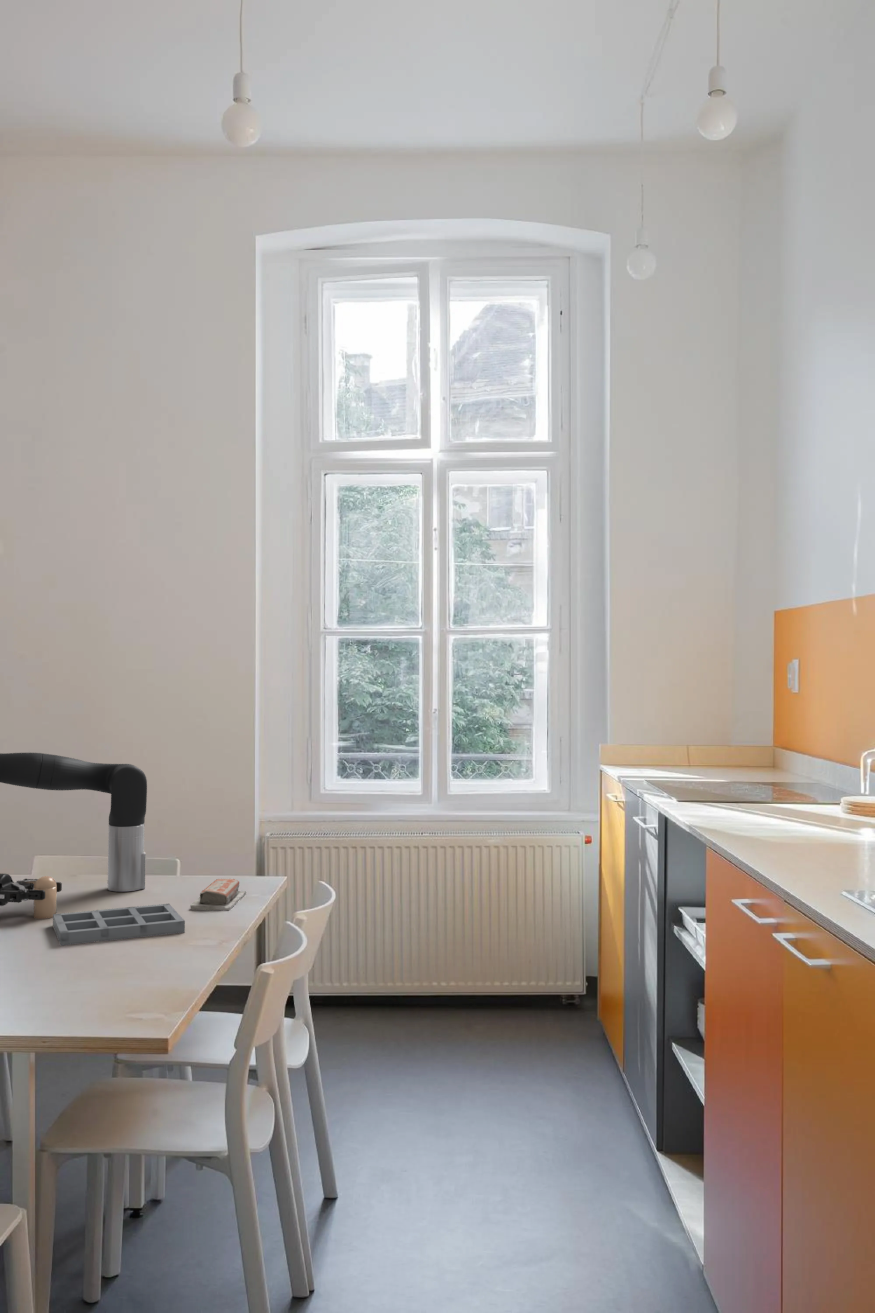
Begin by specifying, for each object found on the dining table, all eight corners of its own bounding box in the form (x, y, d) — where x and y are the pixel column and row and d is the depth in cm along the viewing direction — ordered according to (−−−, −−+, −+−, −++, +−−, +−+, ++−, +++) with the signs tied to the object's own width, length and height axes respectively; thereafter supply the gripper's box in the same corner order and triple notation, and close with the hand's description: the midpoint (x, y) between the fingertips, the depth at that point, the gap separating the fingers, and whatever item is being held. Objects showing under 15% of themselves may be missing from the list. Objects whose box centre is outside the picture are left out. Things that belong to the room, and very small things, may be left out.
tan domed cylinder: (55, 912, 237) (55, 873, 237) (57, 917, 233) (57, 877, 233) (32, 915, 235) (33, 875, 235) (34, 919, 230) (35, 879, 230)
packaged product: (209, 877, 259) (246, 877, 259) (208, 895, 259) (246, 896, 259) (189, 892, 241) (230, 893, 241) (189, 911, 241) (229, 912, 241)
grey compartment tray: (168, 914, 237) (169, 903, 237) (184, 932, 221) (184, 920, 221) (52, 925, 225) (53, 914, 225) (60, 945, 209) (60, 933, 209)
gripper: (-29, 879, 228) (39, 881, 227) (2, 867, 242) (66, 869, 241) (-30, 912, 228) (38, 914, 226) (2, 898, 242) (66, 900, 241)
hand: (53, 891), depth 234 cm, fingers open, 8 cm apart
